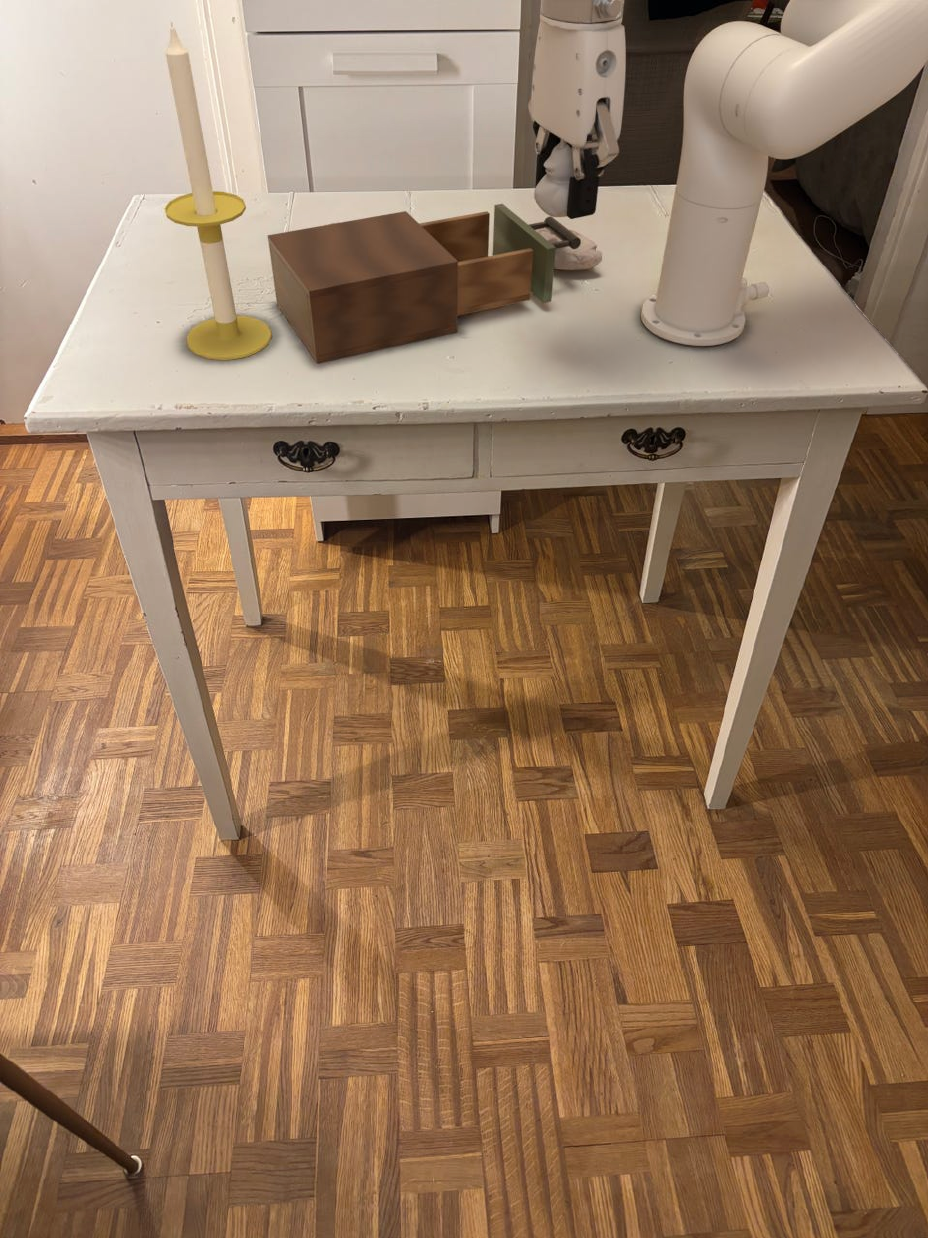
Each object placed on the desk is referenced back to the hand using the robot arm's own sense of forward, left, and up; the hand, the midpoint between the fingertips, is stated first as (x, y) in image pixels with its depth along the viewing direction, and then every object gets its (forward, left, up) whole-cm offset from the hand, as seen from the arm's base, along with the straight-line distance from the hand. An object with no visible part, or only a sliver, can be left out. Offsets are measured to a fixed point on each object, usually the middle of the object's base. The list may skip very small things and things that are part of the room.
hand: (564, 202), depth 97 cm
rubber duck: (0, 0, -1) cm, 1 cm away
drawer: (0, -16, -16) cm, 23 cm away
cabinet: (+17, -16, -17) cm, 29 cm away
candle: (+34, -18, -17) cm, 42 cm away
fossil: (-12, -20, -17) cm, 29 cm away
